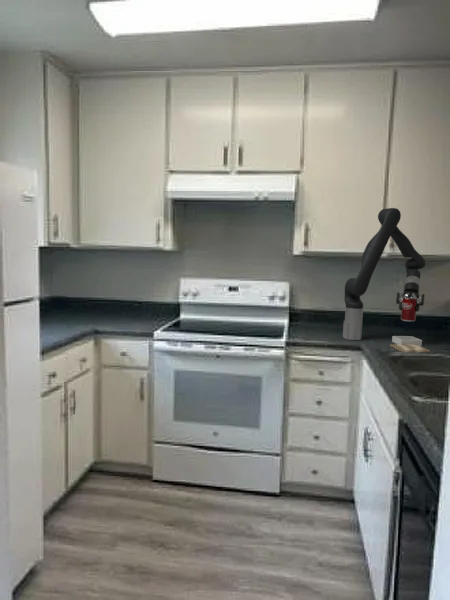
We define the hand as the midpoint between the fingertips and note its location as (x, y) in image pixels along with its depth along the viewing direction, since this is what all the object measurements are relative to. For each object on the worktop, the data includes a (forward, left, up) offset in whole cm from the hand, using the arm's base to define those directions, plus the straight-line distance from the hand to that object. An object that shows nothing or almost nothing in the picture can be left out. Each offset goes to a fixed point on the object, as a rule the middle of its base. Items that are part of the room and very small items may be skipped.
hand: (408, 309), depth 256 cm
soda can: (+1, +1, -6) cm, 6 cm away
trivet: (-4, -12, -18) cm, 22 cm away
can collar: (+1, +1, -18) cm, 18 cm away
